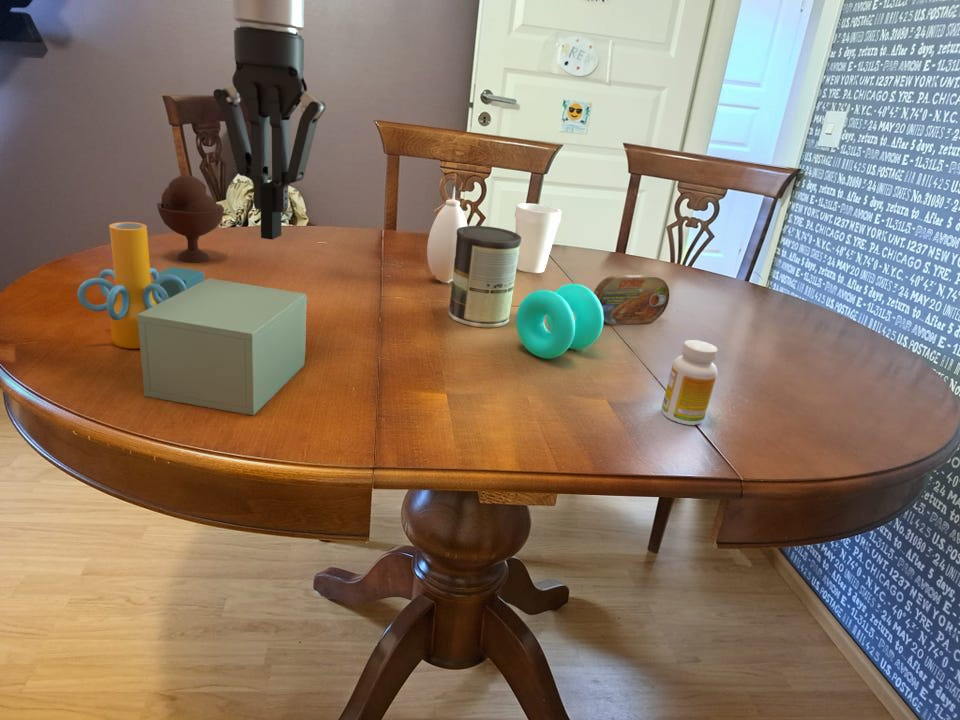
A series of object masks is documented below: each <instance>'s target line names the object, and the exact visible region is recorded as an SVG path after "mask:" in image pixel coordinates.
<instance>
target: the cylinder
mask: <svg viewBox="0 0 960 720" xmlns="http://www.w3.org/2000/svg"><path fill="white" fill-rule="evenodd" d="M108 226H109V227H108V228H109V237H110V238H109V239H110V249H111V257H112V258H111V259H112V266H113V269H110V268H105V269H103V270H101V272H99V275H98V277H93V278H88V279H86V280H85V281H83V282H82V283H81V284H80V285H79V287H78V289H77V294H76V295H77V299H78V301H79V304H81V306H82V307H83V308H85V309H87V310H89V311H93V312H104V311H106V312H107V314H108V316H109V325H110V326H109V327H110V335H111V341H112V343H113V345H115V346H117V347H119V348H123V349H130V350H132V349H133V350H134V349H136V350H137V349H140V339H139V328H138V322H139V321H138V318H137V314H139V313H141V312H143V311H145V310H147V309H149V308H151V307H153V306H155V305H157V304H159V303H161V302H163V301H165V300H167V299H169V296H168V294H167V292H166V291H165V289H164V288H163V287H161V286H160V284H161V283H162V282H164V281H173V282H175V283H177V284H178V286H179V288H180V293H181V292H183V291H185V290H186V285H185V283H184V282H183V281H182V280H181V279H180V278H179V277H177V276H174V275H163V276H160V277H159V274H158V273H159V272H158V270H157V269H156V268H154V267H151V263H150V251H149V239H148V238H149V237H148V226H147V225H146V224H144V223H141V222H134V221H133V222H132V221H121V222H113V223H110V224H109V225H108ZM107 276H110V278H112V279H113V280H114V284H113V283H112V282H111V281H110V280H107V279H106V278H107ZM94 285H98V288H99V290H100V292H101V294H102V295H103V297H104V298H105V299H106V302H105V303H102V304H93V303H92V302H90V301H88V299H87V298H86V291H87V290H88V288H89V287H91V286H94ZM158 293H159V294H160V295H161V297H162V299H161V298H160V297H159V295H158Z"/></svg>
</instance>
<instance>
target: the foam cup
mask: <svg viewBox="0 0 960 720" xmlns="http://www.w3.org/2000/svg"><path fill="white" fill-rule="evenodd" d="M514 212H515V213H514V217H515V233H516V234H518V235H520V236H521V238H522V239H521V243H520V246H519V253H518V260H517V267H516V270H518V271H521V272H524V273H530V274H539V273H543V272H545V269H546V267H547V263H548V260H549V256H550V253H551V250H552V246H553V243H554V239H555V236H556V233H557V229H558V227H559V224H560V223H561V217H562V210H561V209H560V208H557V207H554V206H551V205H546V204H539V203H530V202H529V203H528V202H524V203H522V202H521V203H517V204H516V206H515V211H514Z"/></svg>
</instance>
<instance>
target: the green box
mask: <svg viewBox="0 0 960 720" xmlns="http://www.w3.org/2000/svg"><path fill="white" fill-rule="evenodd" d="M306 297H307V293H306V292H305V293H304V292H299V291H298V292H297V291H293V290H285V289H279V288H273V287H267V286H262V285H261V286H260V285H255V284H248V283H242V282H235V281H230V280H222V279H219V278H218V279H217V278H212V277H209V278H206V279H204V281H202V282H200V283H198V284H196V285H194V286H192V287H190V288H188V289H186V290H185V291H183V292H181V293H179V294H177V295H175V296H173V297H171V298H169V299H167V300H165V301H163V302H161V303H159V304H157V305H155V306H153V307H151V308H149V309H147V310H145V311H143V312H141V313H139V314H137V318H138V321H139V322H138V328H139V339H140V348H139V349H140V358H141V360H140V361H141V370H142V371H141V372H142V380H143V381H142V383H143V396H144V397H146V398H153V399H157V400H164V401H168V402H174V403H182V404H185V405H191V406H192V405H193V406H198V407H204V408H208V409H215V410H220V411H226V412H231V413H237V414H243V415H248V416H255V415H256V414H257V413H258V412H259V411H260V410H261V409H262V408H263V407H264V406H265V405H266V404H267V403H268V402H269V401H270V400H271V399H272V398H273V397H274V396H275V395H276V394H277V393H278V392H279V391H280V390H281V389H282V388H283V387H284V386H285V385H286V384H287V383H288V382H289V381H290V380H291V379H292V378H293V377H294V376H295V375H296V374H297V373H298V372H299V371H300V370H301V369H302V368H303V367H304V366H305V364H306V362H305V361H306V360H305V359H306V343H305V316H306V317H307V306H306Z"/></svg>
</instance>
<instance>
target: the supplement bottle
mask: <svg viewBox="0 0 960 720" xmlns="http://www.w3.org/2000/svg"><path fill="white" fill-rule="evenodd" d="M682 345H683V346H682V349H681V354H682V355H679V356H677V357H676V358H675V359H674V360H673V362H672V365H671V369H670V372H669V377H668V381H667V385H666V389H665V392H664V396H663V401H662V404H661V412H662V414H663V416H664V417H666V418H667V419H669V420H671V421H672V422H675V423H679V424H683V425H687V426H695V425H699V424H701V423H703V422H704V420H705V418H706V414H707V412H708V408H709V404H710V400H711V397H712V394H713V390H714V386H715V383H716V379H717V375H718V367H717V365H715V364H714V361H715V360H716V357H717V353H718V348H717V347H716V346H715V345H713V344H711V343H709V342H706V341H702V340H697V339H687V340H685V341H684V342H683V344H682Z"/></svg>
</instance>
